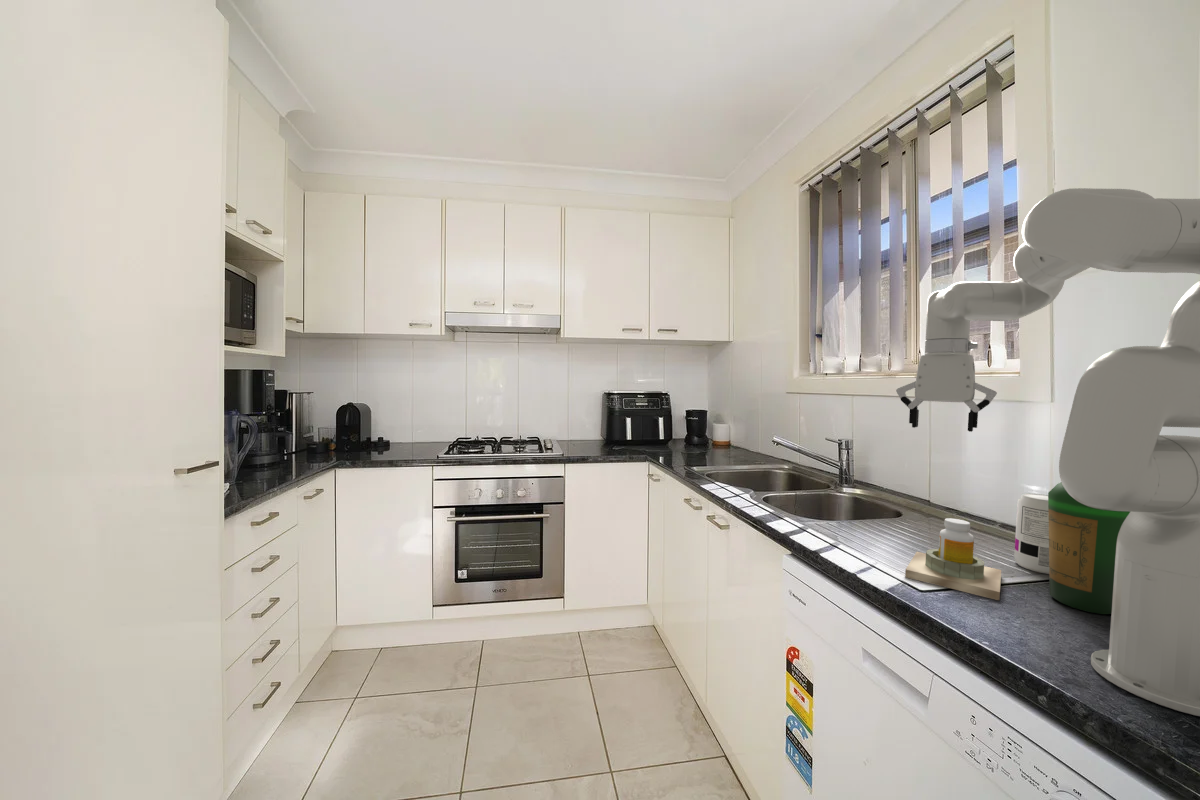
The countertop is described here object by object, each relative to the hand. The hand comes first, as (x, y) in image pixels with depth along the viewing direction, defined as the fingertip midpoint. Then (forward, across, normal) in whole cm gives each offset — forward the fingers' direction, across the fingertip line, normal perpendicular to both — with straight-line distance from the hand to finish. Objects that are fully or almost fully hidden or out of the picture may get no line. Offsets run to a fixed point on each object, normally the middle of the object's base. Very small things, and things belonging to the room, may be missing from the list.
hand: (941, 429), depth 100 cm
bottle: (+29, -22, +7) cm, 37 cm away
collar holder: (+28, -4, +9) cm, 30 cm away
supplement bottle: (+27, -4, +9) cm, 29 cm away
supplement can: (+29, -17, -11) cm, 35 cm away
